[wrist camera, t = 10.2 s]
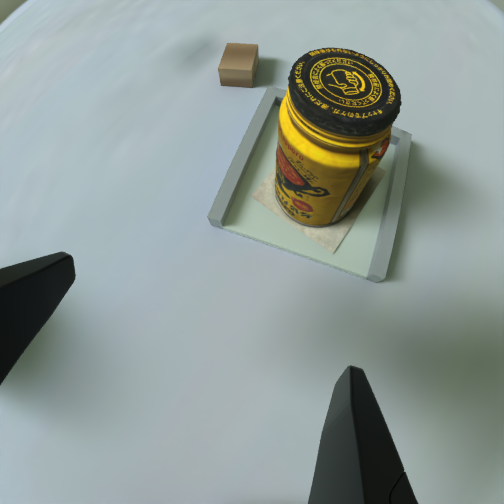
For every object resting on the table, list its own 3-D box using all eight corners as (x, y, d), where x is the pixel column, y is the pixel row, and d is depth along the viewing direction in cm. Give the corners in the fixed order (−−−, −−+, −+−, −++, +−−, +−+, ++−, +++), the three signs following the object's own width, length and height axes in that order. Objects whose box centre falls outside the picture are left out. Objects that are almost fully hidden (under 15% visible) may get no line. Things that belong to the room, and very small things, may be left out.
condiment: (250, 197, 24) (237, 84, 12) (311, 125, 25) (333, 9, 13) (331, 254, 22) (394, 178, 11) (385, 173, 24) (450, 74, 12)
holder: (376, 282, 22) (384, 278, 20) (211, 225, 24) (207, 216, 22) (404, 144, 25) (411, 134, 23) (268, 98, 26) (268, 85, 25)
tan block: (252, 87, 27) (251, 70, 25) (220, 85, 27) (217, 68, 25) (258, 61, 28) (258, 44, 26) (229, 59, 28) (227, 42, 26)
